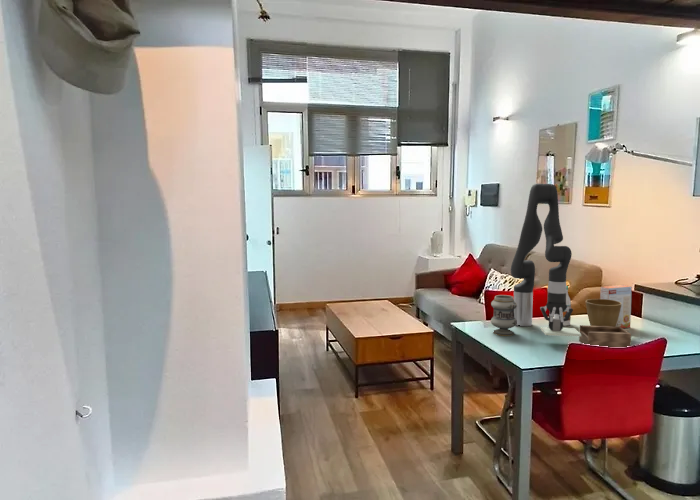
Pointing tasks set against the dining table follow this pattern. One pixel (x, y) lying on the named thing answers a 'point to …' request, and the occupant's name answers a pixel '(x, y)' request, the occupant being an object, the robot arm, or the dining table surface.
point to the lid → (557, 331)
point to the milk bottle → (565, 309)
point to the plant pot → (603, 312)
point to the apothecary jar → (504, 314)
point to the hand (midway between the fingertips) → (555, 329)
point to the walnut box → (605, 336)
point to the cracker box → (621, 295)
